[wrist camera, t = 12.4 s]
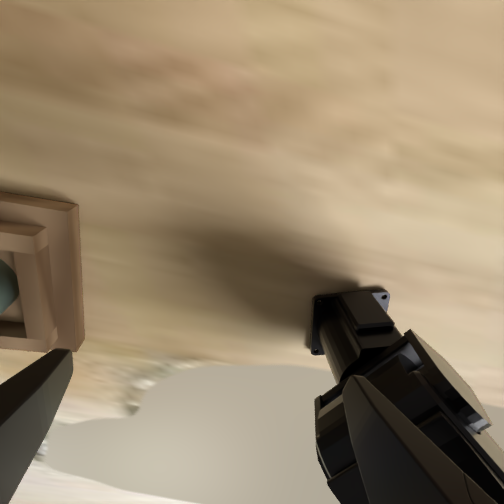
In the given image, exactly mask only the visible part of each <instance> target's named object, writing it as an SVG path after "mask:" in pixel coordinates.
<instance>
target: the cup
mask: <svg viewBox="0 0 504 504" xmlns="http://www.w3.org/2000/svg"><path fill="white" fill-rule="evenodd" d="M18 295H19V285H18V279H17V276H16V274H15V273H14V271H13V270H12V269H11V268H10V266H9V265H8V264H6V263H5V262H4V261H3V260H1V259H0V315H1V314H2V313H3V312H4V311H5V310H6V309H7V308H8V307H9V306H10V305H11V304H12V303H13V302H14V301H15V300H16V299H17V297H18Z"/></svg>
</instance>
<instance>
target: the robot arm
mask: <svg viewBox="0 0 504 504" xmlns="http://www.w3.org/2000/svg"><path fill="white" fill-rule="evenodd" d="M383 295H384V296H383ZM382 296H383V297H382ZM389 299H390V294H389V293H388V292H387V290H371V291H356V292H345V293H336V294H325V295H317V296H315V297H314V298H313V301H312V319H311V337H310V351H311V354H312V355H326V358H327V360H328V363H329V365H330V368H331V370H332V373H333V375H334V378H335V380H336V383H337V385H336V386H335V387H333V388H332V389H331V390H329V391H328V392H326V393H325V394H324V395H322V396H321V395H320V396H318V397H317V398H316V399H315V431H316V450H317V455H318V461H319V463H320V465H321V468H322V470H323V472H324V474H325V476H326V478H327V484H328V486H329V488H330V489H331V491H332V492H333V494H334V495H335V496H336V498H337V499H338V500H339V502H340V503H341V504H504V452H503V451H502V449H501V448H500V447H499V446H498V445H497V443H496V442H495V441H494V440H493V439H492V437H491V436H490V435H489V434H488V433H487V432H486V430H485V429H486V428H488V427H490V426H492V425H493V424H492V422H491V420H490V419H489V417H488V415H487V414H486V412H485V410H484V409H483V407H482V405H481V404H480V402H479V400H478V399H477V397H476V395H475V394H474V392H473V390H472V389H471V387H470V386H469V385H468V384H467V383H466V382H465V381H464V380H463V379H462V377H461V376H460V375H459V374H458V373H457V372H456V371H455V370H454V369H453V368H452V366H451V365H450V364H449V363H448V362H447V361H446V360H445V359H444V358H443V357H442V356H441V355H439V354H438V353H437V352H436V351H435V350H434V349H433V348H432V347H430V346H429V345H428V344H427V343H426V342H425V341H424V340H422V339H421V338H420V337H419V336H418V335H417V334H416V333H415V332H413V331H412V330H411V329H410V330H408V331H407V332H405V333H404V336H402V335H401V333H400V332H399V331H398V330H397V328H396V327H395V326H394V325H395V323H394V322H393V320H392V319H391V318H390V316H389V315H388V314H387V309H388V304H389ZM319 300H321V301H320V302H317V301H319ZM316 349H317V350H316ZM72 374H73V357H72V351H71V350H70V349H65V348H55V349H53V350H52V351H50V352H49V353H47V354H46V355H44V356H43V357H41V358H40V359H38V360H37V361H35V362H34V363H32V364H31V365H29V366H28V367H26V368H25V369H23V370H22V371H20V372H19V373H17V374H16V375H14V376H13V377H11V378H10V379H8V380H7V381H5V382H4V383H2V384H1V385H0V504H9V502H10V500H11V498H12V496H13V494H14V493H15V491H16V489H17V487H18V485H19V484H20V482H21V480H22V478H23V476H24V474H25V473H26V471H27V469H28V467H29V465H30V464H31V462H32V460H33V458H34V456H35V454H36V453H37V451H38V449H39V447H40V445H41V443H42V442H43V440H44V438H45V436H46V434H47V432H48V430H49V428H50V426H51V424H52V421H53V419H54V417H55V414H56V412H57V410H58V407H59V405H60V403H61V400H62V398H63V396H64V393H65V391H66V389H67V386H68V384H69V382H70V379H71V377H72Z"/></svg>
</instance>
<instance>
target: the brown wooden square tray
mask: <svg viewBox="0 0 504 504" xmlns="http://www.w3.org/2000/svg"><path fill="white" fill-rule="evenodd" d="M0 259H1V260H3V261H4V262H5V263H6V264H8V265H9V266H10V268H11V269H12V270H13V271H14V273H15V274H16V276H17V279H18V285H19V295H18V297H17V299H16V300H15V301H14V302H13V303H12V304H11V305H10V306H9V307H8V308H7V309H6V310H5V311H4V312H3V313H2V314H1V315H0V349H11V350H22V351H33V352H44V353H47V352H48V351H49V350H53V349H55V348H65V349H70V350H71V351H72V352H77V351H78V349H79V347H80V346H81V344H82V342H83V341H84V339H85V333H84V312H83V291H82V270H81V249H80V229H79V208H78V205H77V204H71V203H65V202H59V201H53V200H47V199H41V198H35V197H29V196H24V195H18V194H12V193H6V192H0Z"/></svg>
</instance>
